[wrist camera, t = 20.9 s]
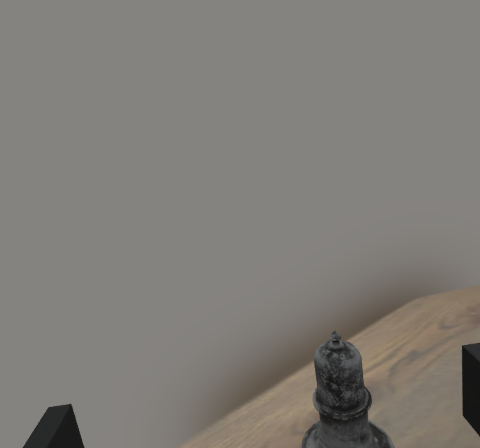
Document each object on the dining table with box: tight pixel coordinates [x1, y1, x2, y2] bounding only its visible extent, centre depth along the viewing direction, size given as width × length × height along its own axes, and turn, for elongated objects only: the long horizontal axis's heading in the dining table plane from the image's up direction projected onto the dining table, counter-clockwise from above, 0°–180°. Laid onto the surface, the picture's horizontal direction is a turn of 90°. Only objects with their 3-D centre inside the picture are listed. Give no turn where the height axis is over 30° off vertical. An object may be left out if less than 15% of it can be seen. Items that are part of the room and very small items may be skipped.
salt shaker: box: [302, 331, 395, 448], centre depth 25 cm, size 6×6×12 cm
